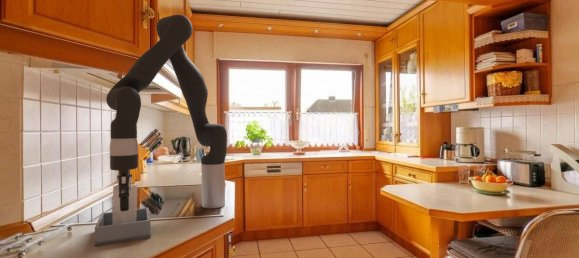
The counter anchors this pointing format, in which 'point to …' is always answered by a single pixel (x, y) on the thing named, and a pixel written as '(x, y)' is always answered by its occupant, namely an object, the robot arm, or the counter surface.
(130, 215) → the skincare box
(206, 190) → the robot arm
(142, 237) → the bin
